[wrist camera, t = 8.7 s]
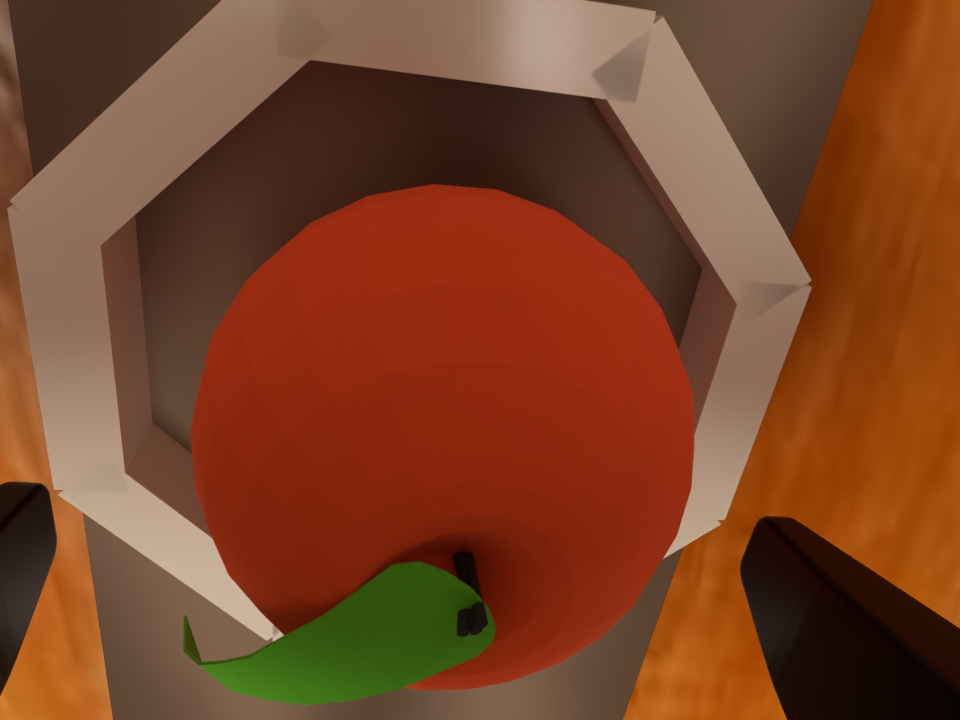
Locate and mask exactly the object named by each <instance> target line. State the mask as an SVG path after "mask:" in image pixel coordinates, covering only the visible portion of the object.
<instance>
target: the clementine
mask: <svg viewBox="0 0 960 720" xmlns="http://www.w3.org/2000/svg"><path fill="white" fill-rule="evenodd" d="M190 433H191V445H192V456H193V467H194V478H195V488H196V491H197V494H198V498H199V501H200V504H201V507H202V511H203V514H204V517H205V520H206V524H207V527H208V529H209V532H210V534H211V536H212V539H213V541H214V543H215V545H216V548H217V550H218V552H219V555H220V557H221V559H222V561H223V564H224V566H225V568H226V570H227V573H228V575H229V576H230V577H231V578H232V580H233V581H234V582H235V583H236V584H237V585H238V587H239V588H240V589H241V590H242V591H243V592H244V593H245V595H246V596H247V597H248V598H249V599H250V600H251V602H252V603H253V604H254V605H255V606H256V607H257V608H258V610H259V611H260V612H261V613H262V614H263V615H264V616H265V617H266V618H267V619H268V620H269V621H270V622H271V623H272V624H273V625H274V626H275V627H276V628H277V629H278V630H279V631H280V632H281V633H282V634H283V635H284V636H282V637H280V638H279V639H277V640H275V641H273V642H271V643H270V644H268V645H266V646H264V647H263V648H261V649H259V650H257V651H255V652H254V653H252V654H250V655H245V656H240V657H236V658H231V659H227V660H220V661H208V662H202V660H201V657H200V654H199V651H198V648H197V645H196V643H195V640H194V637H193V634H192V631H191V628H190V625H189V622H188V619H187V616H186V615H185V616H184V621H183V652H185V653H186V654H187V655H188V656H189V657H190V658H191V659H192V660H193V661H194V662H195V663H196V664H197V665H199V666H200V667H201V668H202V669H204V670H205V671H206V672H208V673H209V674H210V675H211V676H213V677H214V678H215V679H216V680H218V681H219V682H220V683H222V684H223V685H224V686H225V687H227V688H228V689H229V690H231V691H233V692H237V693H241V694H245V695H249V696H252V697H256V698H260V699H264V700H269V701H277V702H285V703H293V704H300V705H313V704H324V703H335V702H346V701H354V700H358V699H362V698H366V697H370V696H375V695H379V694H383V693H387V692H391V691H395V690H399V689H402V688H408V689H414V690H469V689H474V688H480V687H485V686H490V685H496V684H501V683H506V682H510V681H514V680H517V679H519V678H522V677H525V676H527V675H530V674H533V673H535V672H538V671H541V670H543V669H546V668H548V667H551V666H554V665H556V664H559V663H561V662H562V661H564V660H566V659H567V658H569V657H570V656H572V655H574V654H575V653H577V652H579V651H580V650H582V649H583V648H585V647H587V646H588V645H590V644H592V643H593V642H595V641H597V640H598V639H600V638H601V637H602V636H603V635H604V634H605V633H606V632H607V631H608V630H609V629H610V628H611V627H612V626H613V625H614V624H615V623H616V622H617V621H619V620H620V619H621V618H622V617H623V616H624V615H625V614H626V613H627V612H628V611H629V610H630V609H631V608H632V607H633V605H634V604H635V602H636V601H637V599H638V598H639V596H640V594H641V593H642V591H643V590H644V588H645V587H646V585H647V584H648V582H649V580H650V579H651V577H652V576H653V574H654V573H655V571H656V569H657V568H658V566H659V564H660V563H661V561H662V560H663V558H664V556H665V555H666V553H667V551H668V550H669V548H670V547H671V545H672V543H673V542H674V540H675V538H676V537H677V534H678V531H679V528H680V524H681V521H682V518H683V514H684V511H685V508H686V505H687V501H688V498H689V495H690V491H691V486H692V473H693V460H694V395H693V392H692V389H691V386H690V383H689V380H688V377H687V374H686V371H685V368H684V365H683V363H682V360H681V357H680V354H679V351H678V348H677V345H676V342H675V340H674V337H673V335H672V333H671V330H670V328H669V325H668V323H667V321H666V318H665V316H664V313H663V311H662V309H661V307H660V306H659V305H658V303H657V302H656V301H655V299H654V298H653V297H652V295H651V294H650V293H649V291H648V290H647V289H646V287H645V286H644V285H643V283H642V282H641V281H640V279H639V278H638V277H637V275H636V274H635V273H634V271H633V270H632V269H631V267H630V266H629V265H628V263H627V262H626V261H625V260H624V259H622V258H621V257H620V256H618V255H617V254H615V253H614V252H613V251H611V250H610V249H608V248H607V247H606V246H604V245H603V244H602V243H600V242H599V241H597V240H596V239H595V238H593V237H592V236H591V235H589V234H588V233H586V232H585V231H584V230H582V229H581V228H580V227H578V226H577V225H575V224H574V223H573V222H571V221H570V220H568V219H567V218H565V217H564V216H562V215H561V214H560V213H558V212H557V211H555V210H552V209H550V208H547V207H544V206H541V205H539V204H536V203H533V202H530V201H528V200H525V199H522V198H519V197H517V196H514V195H511V194H508V193H506V192H503V191H500V190H497V189H486V188H473V187H461V186H449V185H437V184H431V185H425V186H419V187H414V188H408V189H403V190H397V191H392V192H386V193H380V194H375V195H369V196H367V197H364V198H362V199H360V200H358V201H356V202H354V203H352V204H350V205H347V206H345V207H343V208H341V209H339V210H337V211H335V212H333V213H331V214H328V215H326V216H324V217H322V218H320V219H318V220H316V221H314V222H311V223H310V224H309V225H307V226H306V227H305V228H304V229H303V230H302V231H301V232H299V233H298V234H297V235H296V236H295V237H294V238H293V239H291V240H290V241H289V242H288V243H287V244H286V245H285V246H283V247H282V248H281V249H280V250H279V251H278V252H276V253H275V254H274V255H273V256H272V257H271V258H270V259H268V260H267V261H266V262H265V263H264V264H263V265H262V266H261V267H260V268H259V269H258V270H257V271H256V272H255V273H254V274H253V275H252V276H251V277H250V278H249V279H248V280H247V281H246V282H245V284H244V285H243V287H242V289H241V290H240V292H239V293H238V295H237V297H236V298H235V300H234V301H233V303H232V305H231V306H230V308H229V309H228V311H227V313H226V314H225V316H224V317H223V319H222V321H221V322H220V324H219V325H218V327H217V329H216V330H215V332H214V333H213V335H212V337H211V341H210V345H209V349H208V353H207V357H206V361H205V365H204V369H203V373H202V377H201V381H200V385H199V389H198V394H197V399H196V404H195V409H194V415H193V420H192V425H191V430H190Z"/></svg>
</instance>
